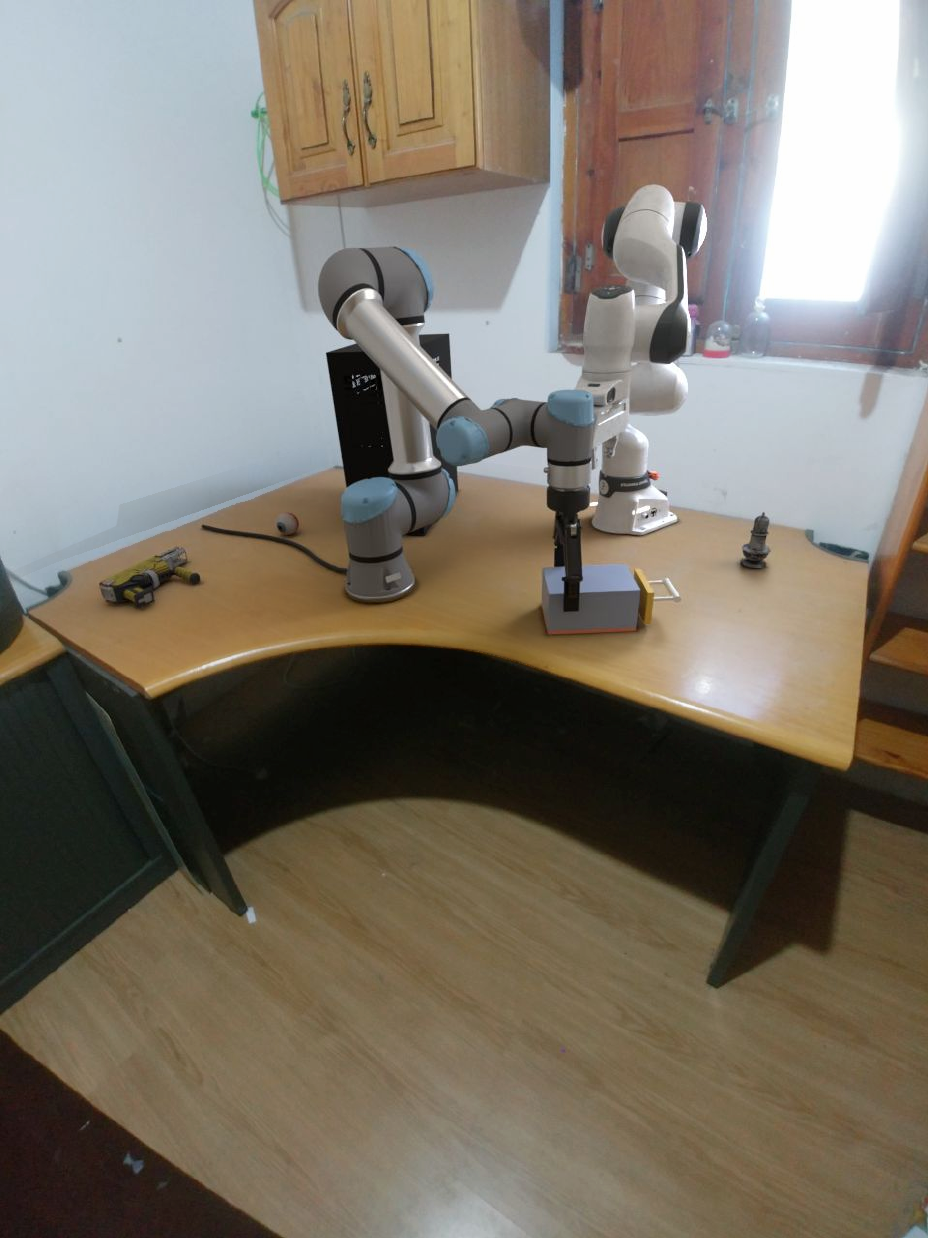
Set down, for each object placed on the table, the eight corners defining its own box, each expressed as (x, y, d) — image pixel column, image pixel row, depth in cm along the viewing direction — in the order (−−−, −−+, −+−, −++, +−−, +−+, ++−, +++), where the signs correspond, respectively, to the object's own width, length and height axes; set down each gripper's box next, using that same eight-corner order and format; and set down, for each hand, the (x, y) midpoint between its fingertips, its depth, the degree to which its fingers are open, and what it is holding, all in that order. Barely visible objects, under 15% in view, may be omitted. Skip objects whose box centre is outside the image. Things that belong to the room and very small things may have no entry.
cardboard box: (424, 535, 159) (408, 350, 137) (353, 532, 164) (325, 352, 141) (458, 489, 191) (449, 333, 168) (397, 488, 195) (380, 335, 173)
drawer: (664, 597, 122) (668, 567, 118) (680, 623, 113) (684, 591, 110) (561, 602, 122) (562, 572, 119) (569, 627, 113) (570, 596, 110)
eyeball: (273, 537, 164) (268, 516, 161) (287, 528, 169) (282, 508, 166) (291, 539, 161) (286, 518, 158) (305, 530, 166) (301, 510, 163)
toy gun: (223, 554, 147) (173, 544, 151) (148, 595, 127) (92, 582, 131) (226, 572, 149) (177, 561, 153) (152, 615, 129) (97, 601, 133)
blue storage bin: (622, 602, 123) (625, 563, 119) (636, 630, 113) (640, 590, 109) (541, 605, 123) (542, 567, 119) (548, 634, 114) (549, 594, 109)
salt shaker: (770, 569, 132) (782, 517, 126) (741, 568, 133) (751, 516, 127) (764, 558, 137) (775, 507, 131) (736, 557, 138) (746, 507, 132)
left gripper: (539, 466, 116) (539, 567, 126) (556, 510, 94) (554, 627, 105) (578, 464, 116) (575, 565, 126) (604, 507, 94) (597, 625, 104)
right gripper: (608, 378, 119) (604, 449, 126) (567, 394, 104) (564, 474, 111) (640, 379, 116) (633, 452, 123) (601, 396, 101) (596, 478, 108)
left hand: (565, 593), depth 115 cm, fingers open, 13 cm apart
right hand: (600, 462), depth 117 cm, fingers open, 8 cm apart
